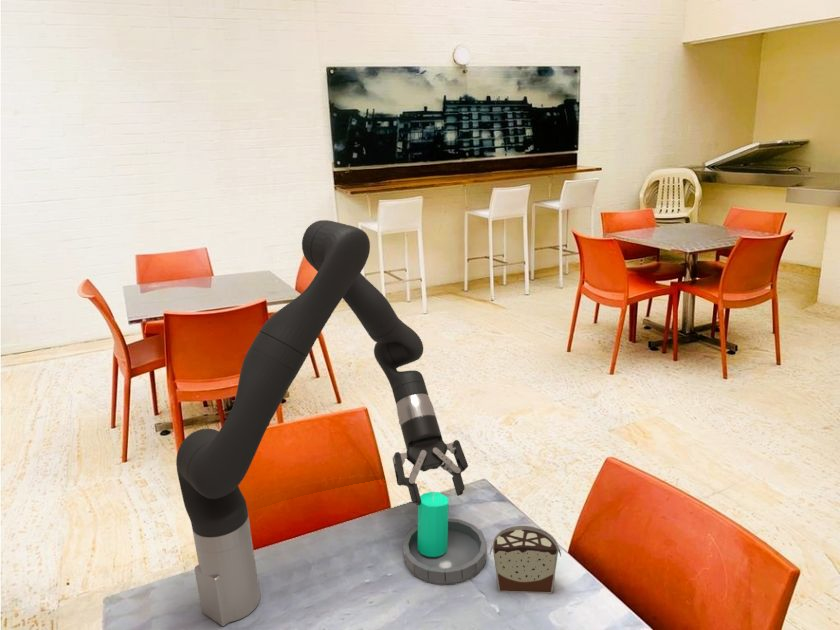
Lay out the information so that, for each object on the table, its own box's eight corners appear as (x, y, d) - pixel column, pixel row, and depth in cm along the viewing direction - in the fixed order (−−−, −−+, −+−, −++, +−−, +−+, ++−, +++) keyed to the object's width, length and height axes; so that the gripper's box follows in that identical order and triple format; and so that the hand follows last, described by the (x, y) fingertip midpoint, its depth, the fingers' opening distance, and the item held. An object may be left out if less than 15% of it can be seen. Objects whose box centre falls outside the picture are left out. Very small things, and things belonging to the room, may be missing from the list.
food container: (556, 570, 111) (557, 524, 108) (560, 594, 105) (561, 546, 103) (490, 568, 113) (489, 522, 110) (490, 592, 107) (489, 544, 104)
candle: (430, 560, 113) (432, 502, 111) (411, 546, 118) (411, 490, 115) (454, 549, 117) (455, 493, 114) (433, 536, 121) (435, 481, 119)
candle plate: (458, 597, 106) (457, 584, 105) (387, 564, 115) (386, 551, 114) (501, 547, 118) (500, 535, 117) (434, 521, 127) (434, 509, 126)
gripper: (387, 420, 116) (408, 503, 109) (454, 407, 121) (479, 486, 113) (381, 433, 123) (401, 512, 116) (446, 420, 127) (468, 496, 120)
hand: (439, 499), depth 115 cm, fingers open, 8 cm apart
